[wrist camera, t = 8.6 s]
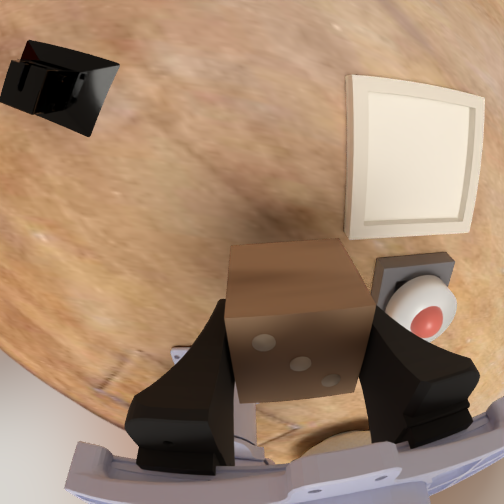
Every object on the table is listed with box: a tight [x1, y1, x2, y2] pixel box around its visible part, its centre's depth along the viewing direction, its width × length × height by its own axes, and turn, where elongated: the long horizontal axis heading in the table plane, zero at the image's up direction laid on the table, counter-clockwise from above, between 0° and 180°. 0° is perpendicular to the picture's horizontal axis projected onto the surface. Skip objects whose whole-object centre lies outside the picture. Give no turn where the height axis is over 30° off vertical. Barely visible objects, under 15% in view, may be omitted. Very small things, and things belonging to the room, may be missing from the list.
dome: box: [385, 275, 457, 342], centre depth 22 cm, size 6×6×5 cm
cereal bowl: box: [301, 431, 372, 457], centre depth 36 cm, size 17×17×7 cm
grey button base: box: [371, 252, 455, 312], centre depth 24 cm, size 7×7×2 cm
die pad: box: [344, 75, 485, 240], centre depth 18 cm, size 11×11×1 cm
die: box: [224, 238, 376, 404], centre depth 13 cm, size 5×5×5 cm
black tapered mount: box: [0, 40, 120, 137], centre depth 14 cm, size 12×7×5 cm, turn 62°
